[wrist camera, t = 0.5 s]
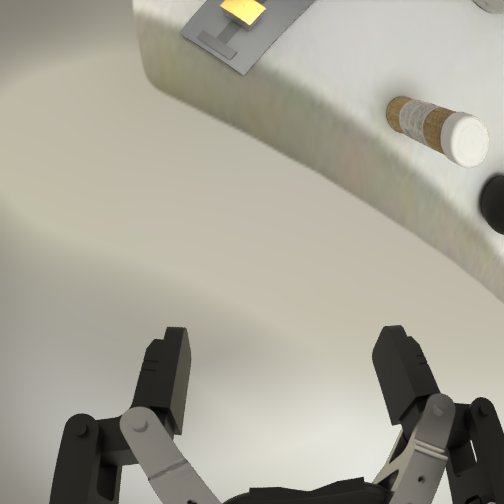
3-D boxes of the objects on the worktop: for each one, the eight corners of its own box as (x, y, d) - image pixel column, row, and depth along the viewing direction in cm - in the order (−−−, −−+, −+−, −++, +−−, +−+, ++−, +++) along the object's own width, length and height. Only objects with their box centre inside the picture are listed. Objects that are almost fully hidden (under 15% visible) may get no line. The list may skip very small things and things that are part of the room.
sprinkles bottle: (424, 118, 30) (496, 150, 19) (398, 140, 32) (465, 180, 20) (404, 88, 28) (478, 105, 17) (377, 110, 30) (443, 136, 18)
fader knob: (237, 0, 22) (236, -11, 18) (263, 17, 23) (265, 8, 19) (223, 15, 23) (220, 5, 19) (249, 31, 24) (249, 24, 20)
